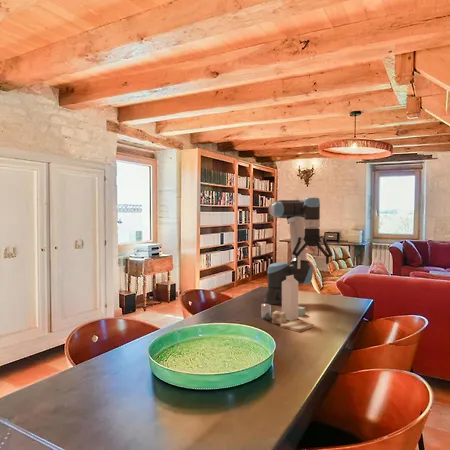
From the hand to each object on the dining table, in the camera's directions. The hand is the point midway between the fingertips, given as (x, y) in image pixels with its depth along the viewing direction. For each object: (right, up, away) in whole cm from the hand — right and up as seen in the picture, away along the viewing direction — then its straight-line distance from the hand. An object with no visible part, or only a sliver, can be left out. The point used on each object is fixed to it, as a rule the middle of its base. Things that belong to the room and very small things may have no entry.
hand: (312, 269), depth 190 cm
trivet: (-11, -25, -15) cm, 31 cm away
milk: (-12, -25, -2) cm, 28 cm away
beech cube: (-18, -25, -8) cm, 32 cm away
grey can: (-24, -25, 0) cm, 34 cm away
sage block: (-6, -25, +6) cm, 26 cm away
